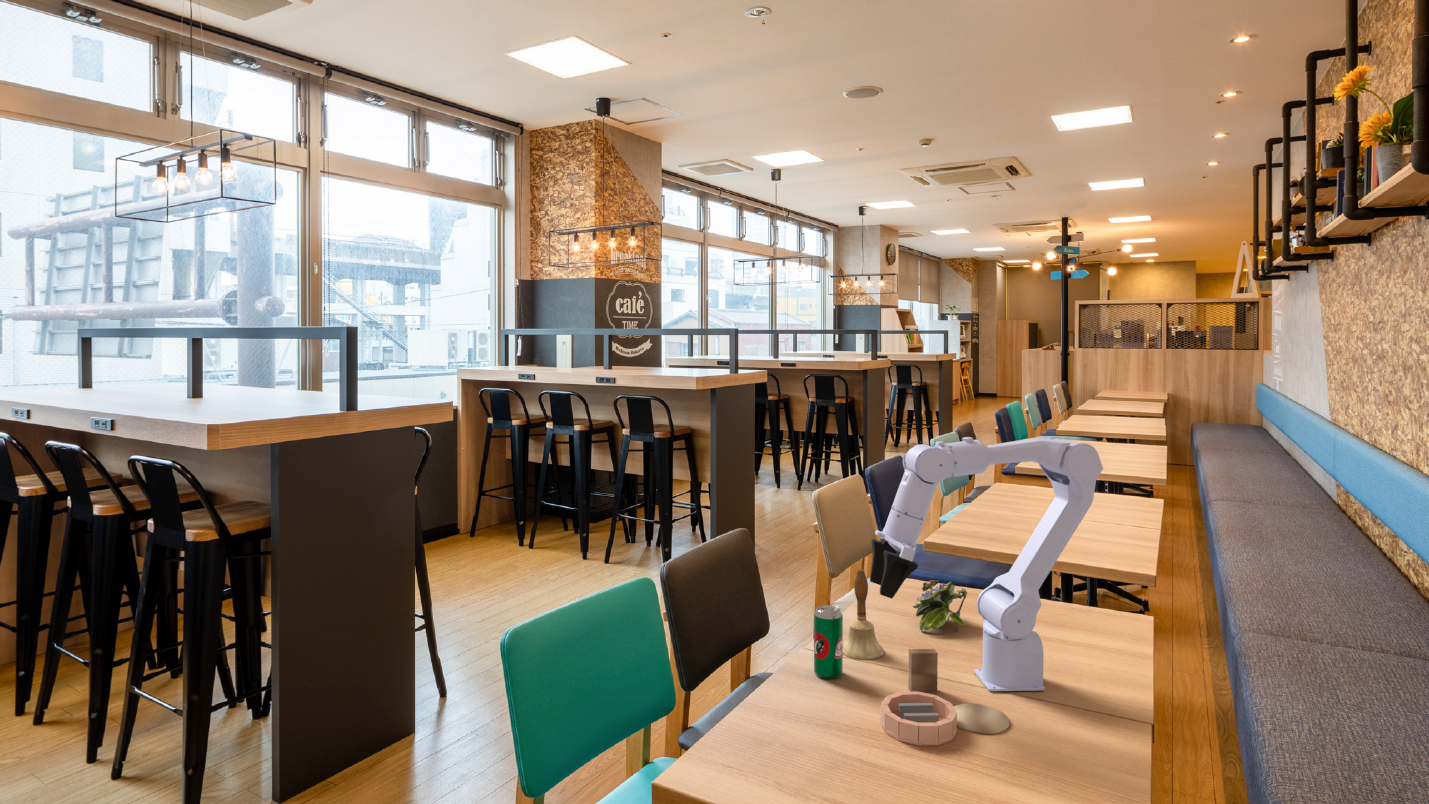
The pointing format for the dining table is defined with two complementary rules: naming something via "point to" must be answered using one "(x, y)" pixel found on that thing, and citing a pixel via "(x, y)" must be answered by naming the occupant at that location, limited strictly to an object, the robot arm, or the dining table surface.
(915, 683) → the brown rectangular block
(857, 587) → the hand bell
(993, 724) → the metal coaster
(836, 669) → the soda can
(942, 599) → the green leafy plant
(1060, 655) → the dining table surface
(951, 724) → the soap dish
